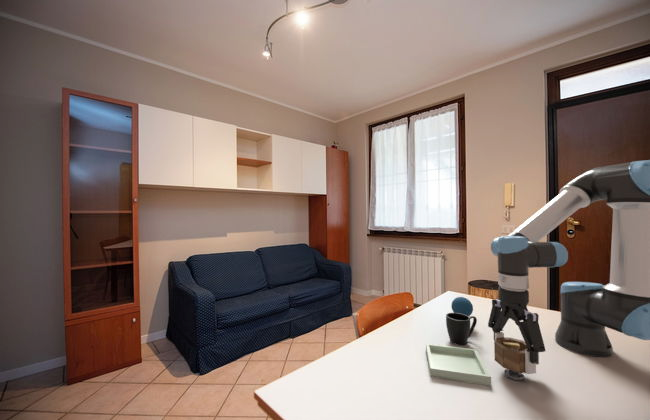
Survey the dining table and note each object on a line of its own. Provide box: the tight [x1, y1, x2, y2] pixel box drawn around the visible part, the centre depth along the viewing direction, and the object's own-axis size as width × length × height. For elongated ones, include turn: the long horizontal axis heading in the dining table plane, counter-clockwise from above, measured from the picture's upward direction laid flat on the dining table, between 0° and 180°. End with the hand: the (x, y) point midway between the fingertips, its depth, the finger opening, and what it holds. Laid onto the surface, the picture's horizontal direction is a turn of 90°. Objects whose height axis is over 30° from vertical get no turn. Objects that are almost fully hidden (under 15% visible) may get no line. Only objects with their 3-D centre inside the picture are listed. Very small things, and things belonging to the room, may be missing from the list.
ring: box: [493, 336, 540, 374], centre depth 81 cm, size 12×10×6 cm
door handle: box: [503, 342, 525, 382], centre depth 81 cm, size 5×5×10 cm
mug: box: [445, 312, 478, 346], centre depth 103 cm, size 8×12×10 cm
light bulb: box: [451, 296, 474, 316], centre depth 118 cm, size 8×8×12 cm
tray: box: [425, 343, 492, 387], centre depth 86 cm, size 16×16×2 cm
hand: (514, 362), depth 81 cm, fingers closed on ring, 10 cm apart
